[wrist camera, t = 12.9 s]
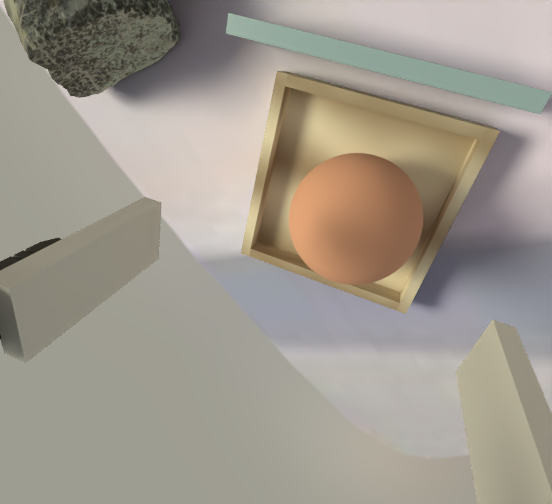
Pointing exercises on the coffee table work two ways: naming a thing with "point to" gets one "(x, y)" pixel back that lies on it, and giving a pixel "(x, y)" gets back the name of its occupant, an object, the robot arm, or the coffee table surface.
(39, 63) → the stone
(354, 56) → the wall
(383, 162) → the ball
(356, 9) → the coffee table surface
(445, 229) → the tray
